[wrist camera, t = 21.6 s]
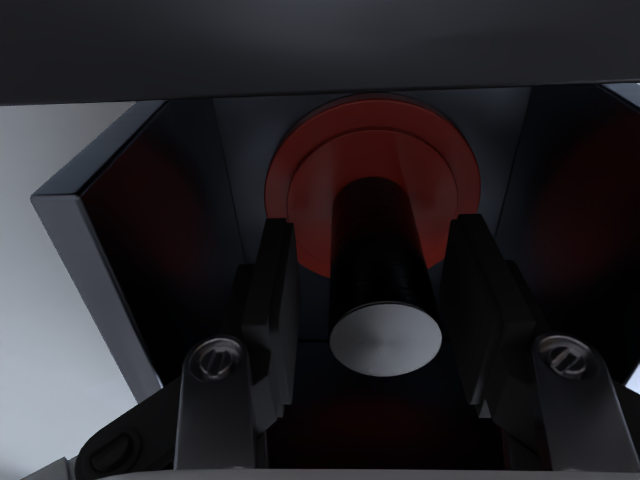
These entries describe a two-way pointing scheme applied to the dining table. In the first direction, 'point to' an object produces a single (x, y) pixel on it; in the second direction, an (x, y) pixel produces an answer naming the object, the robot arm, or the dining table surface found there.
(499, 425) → the robot arm
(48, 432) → the dining table surface
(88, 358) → the dining table surface
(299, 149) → the lid
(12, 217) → the dining table surface
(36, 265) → the dining table surface
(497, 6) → the drawer
